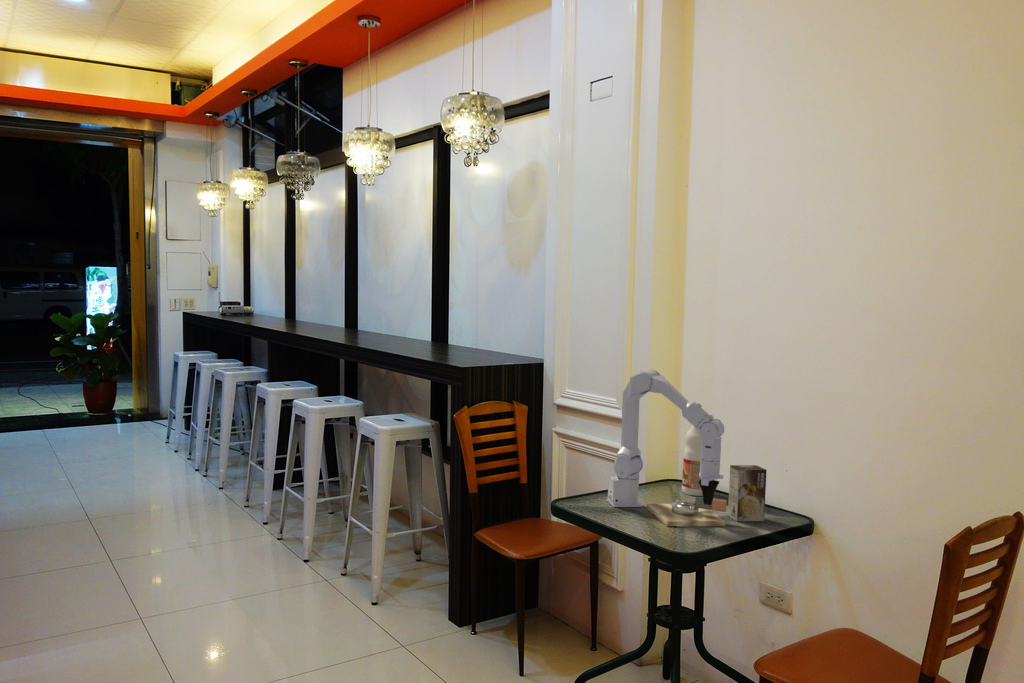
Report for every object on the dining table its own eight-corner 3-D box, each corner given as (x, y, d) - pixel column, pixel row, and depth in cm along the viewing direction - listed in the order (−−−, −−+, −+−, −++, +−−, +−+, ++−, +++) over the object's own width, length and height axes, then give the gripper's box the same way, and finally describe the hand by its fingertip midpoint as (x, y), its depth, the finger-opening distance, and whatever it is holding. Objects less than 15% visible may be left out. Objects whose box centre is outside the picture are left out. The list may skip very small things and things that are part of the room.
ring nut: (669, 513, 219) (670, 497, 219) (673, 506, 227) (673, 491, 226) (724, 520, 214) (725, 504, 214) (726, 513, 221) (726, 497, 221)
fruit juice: (701, 498, 244) (706, 416, 242) (676, 492, 250) (680, 412, 248) (714, 493, 251) (718, 413, 249) (689, 487, 257) (694, 409, 255)
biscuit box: (754, 515, 226) (757, 464, 225) (764, 521, 220) (767, 469, 219) (726, 515, 225) (729, 464, 224) (736, 522, 219) (739, 469, 218)
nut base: (667, 526, 211) (667, 521, 211) (646, 508, 229) (646, 503, 229) (731, 525, 214) (731, 520, 214) (706, 508, 232) (706, 503, 232)
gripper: (719, 466, 209) (717, 512, 210) (727, 457, 222) (725, 500, 223) (695, 462, 212) (692, 508, 213) (704, 454, 225) (702, 497, 226)
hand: (707, 504), depth 218 cm, fingers closed, pressing on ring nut
